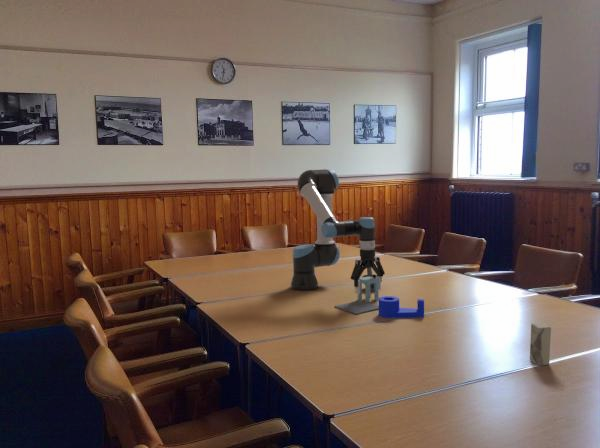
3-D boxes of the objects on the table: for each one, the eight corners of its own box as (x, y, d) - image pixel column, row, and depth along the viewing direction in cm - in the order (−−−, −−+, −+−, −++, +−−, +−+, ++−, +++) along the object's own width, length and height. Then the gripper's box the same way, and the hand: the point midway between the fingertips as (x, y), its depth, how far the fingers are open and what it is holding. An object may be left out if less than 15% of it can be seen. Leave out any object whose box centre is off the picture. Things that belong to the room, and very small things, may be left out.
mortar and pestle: (382, 290, 276) (382, 268, 275) (365, 291, 275) (364, 269, 274) (376, 285, 287) (376, 264, 286) (360, 286, 286) (359, 265, 285)
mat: (334, 307, 246) (334, 306, 246) (360, 301, 255) (360, 300, 255) (356, 314, 233) (356, 313, 233) (382, 308, 242) (382, 307, 242)
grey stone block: (529, 360, 174) (530, 322, 173) (541, 359, 175) (542, 322, 173) (537, 366, 169) (538, 327, 168) (550, 365, 170) (551, 327, 168)
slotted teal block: (357, 299, 259) (357, 278, 258) (368, 297, 263) (368, 276, 262) (367, 302, 253) (367, 280, 252) (378, 300, 257) (378, 278, 256)
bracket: (378, 318, 228) (378, 301, 227) (378, 312, 236) (378, 296, 236) (424, 319, 224) (424, 301, 223) (423, 313, 233) (423, 296, 232)
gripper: (352, 252, 245) (353, 296, 247) (391, 246, 259) (392, 288, 261) (342, 250, 251) (343, 293, 253) (381, 245, 265) (381, 286, 267)
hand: (368, 291), depth 257 cm, fingers open, 13 cm apart
